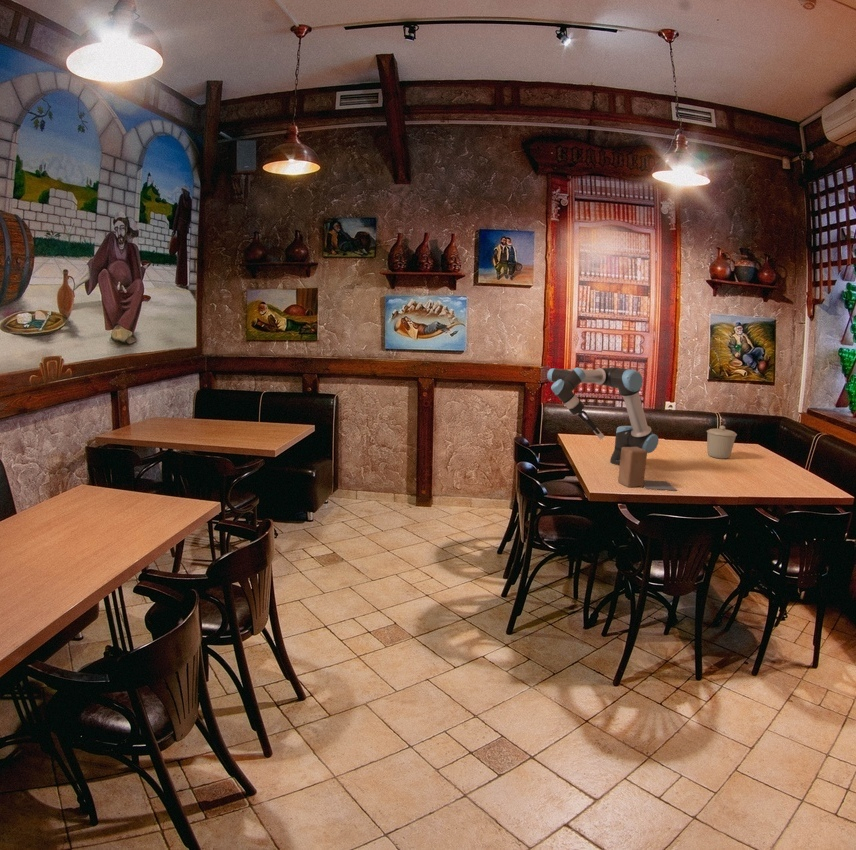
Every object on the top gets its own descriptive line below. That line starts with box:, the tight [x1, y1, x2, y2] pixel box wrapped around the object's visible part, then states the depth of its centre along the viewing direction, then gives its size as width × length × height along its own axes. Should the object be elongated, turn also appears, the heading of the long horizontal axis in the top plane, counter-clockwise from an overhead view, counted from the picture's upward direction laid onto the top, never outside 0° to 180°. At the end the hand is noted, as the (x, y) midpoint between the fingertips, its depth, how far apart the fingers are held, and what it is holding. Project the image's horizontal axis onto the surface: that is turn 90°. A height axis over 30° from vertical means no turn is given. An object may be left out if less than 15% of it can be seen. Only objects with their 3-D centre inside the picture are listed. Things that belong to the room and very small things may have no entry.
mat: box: [642, 479, 678, 492], centre depth 326 cm, size 16×16×1 cm
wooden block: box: [617, 447, 648, 488], centre depth 324 cm, size 10×10×20 cm
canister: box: [706, 425, 738, 460], centre depth 397 cm, size 18×18×21 cm
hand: (602, 437), depth 322 cm, fingers closed
